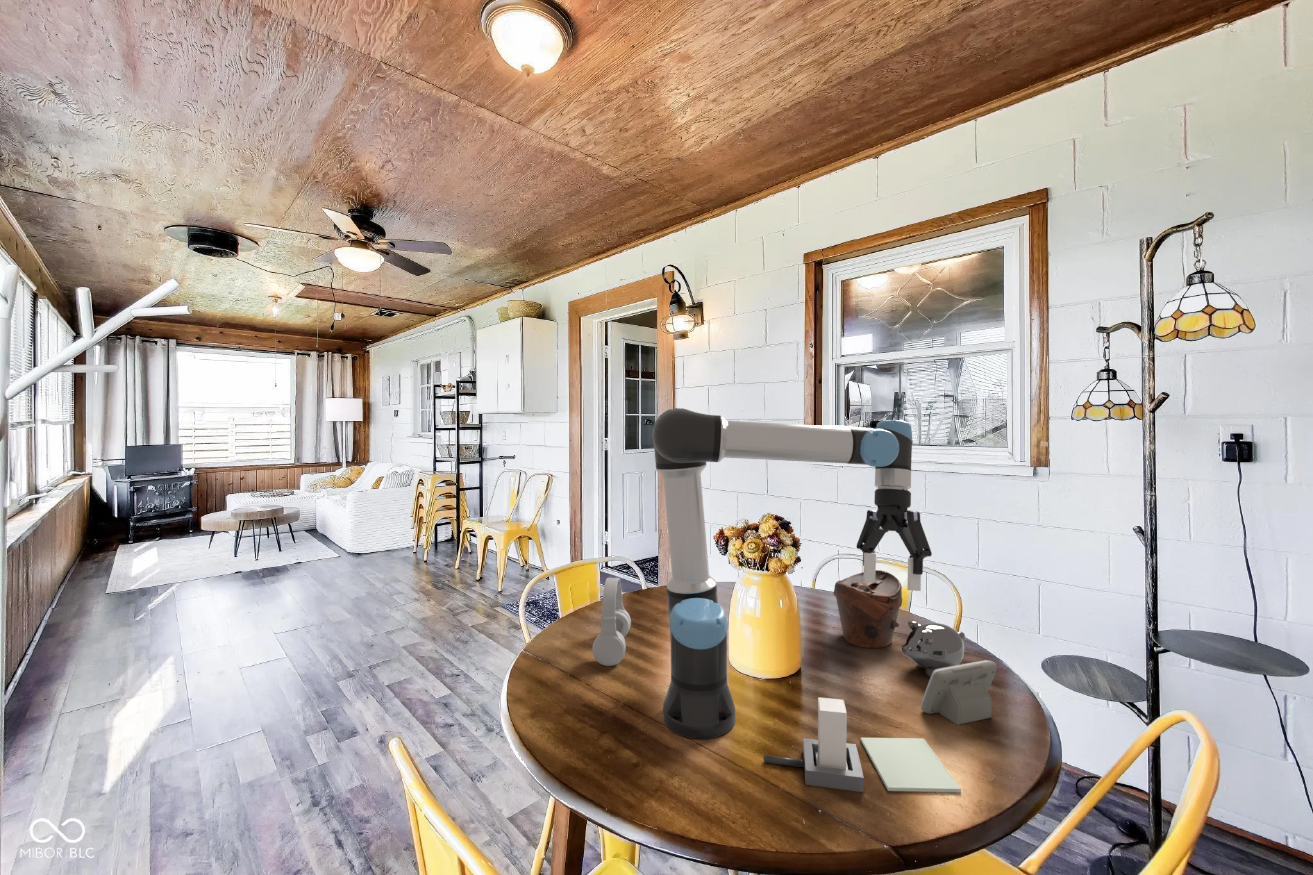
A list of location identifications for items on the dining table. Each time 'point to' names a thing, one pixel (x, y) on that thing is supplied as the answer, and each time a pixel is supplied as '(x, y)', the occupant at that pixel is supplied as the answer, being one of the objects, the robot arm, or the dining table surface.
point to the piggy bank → (934, 646)
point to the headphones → (612, 626)
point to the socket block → (825, 775)
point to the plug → (832, 734)
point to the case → (869, 608)
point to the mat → (909, 765)
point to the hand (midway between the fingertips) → (890, 586)
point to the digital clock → (960, 692)
